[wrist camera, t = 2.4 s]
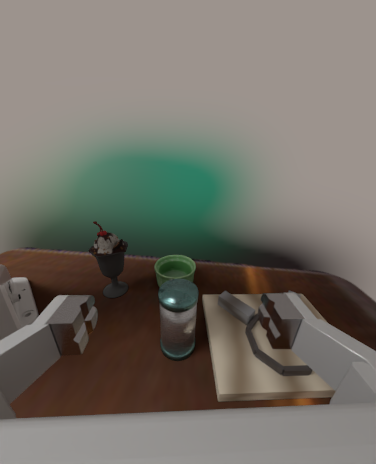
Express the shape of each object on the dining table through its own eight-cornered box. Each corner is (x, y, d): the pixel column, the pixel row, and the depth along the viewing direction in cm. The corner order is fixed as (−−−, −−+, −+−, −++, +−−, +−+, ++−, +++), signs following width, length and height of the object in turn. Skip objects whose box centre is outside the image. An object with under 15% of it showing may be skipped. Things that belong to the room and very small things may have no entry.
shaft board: (218, 401, 21) (221, 383, 20) (202, 300, 36) (203, 286, 35) (379, 395, 22) (392, 378, 21) (300, 299, 37) (305, 285, 36)
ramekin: (172, 302, 36) (172, 284, 34) (147, 280, 41) (145, 264, 40) (203, 282, 41) (204, 266, 40) (177, 265, 47) (177, 250, 46)
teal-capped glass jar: (154, 338, 28) (151, 286, 25) (183, 323, 31) (184, 274, 27) (171, 368, 24) (170, 312, 21) (201, 348, 27) (206, 295, 23)
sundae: (97, 284, 39) (83, 218, 34) (129, 276, 42) (121, 214, 36) (98, 305, 34) (83, 231, 28) (135, 295, 37) (128, 225, 31)
